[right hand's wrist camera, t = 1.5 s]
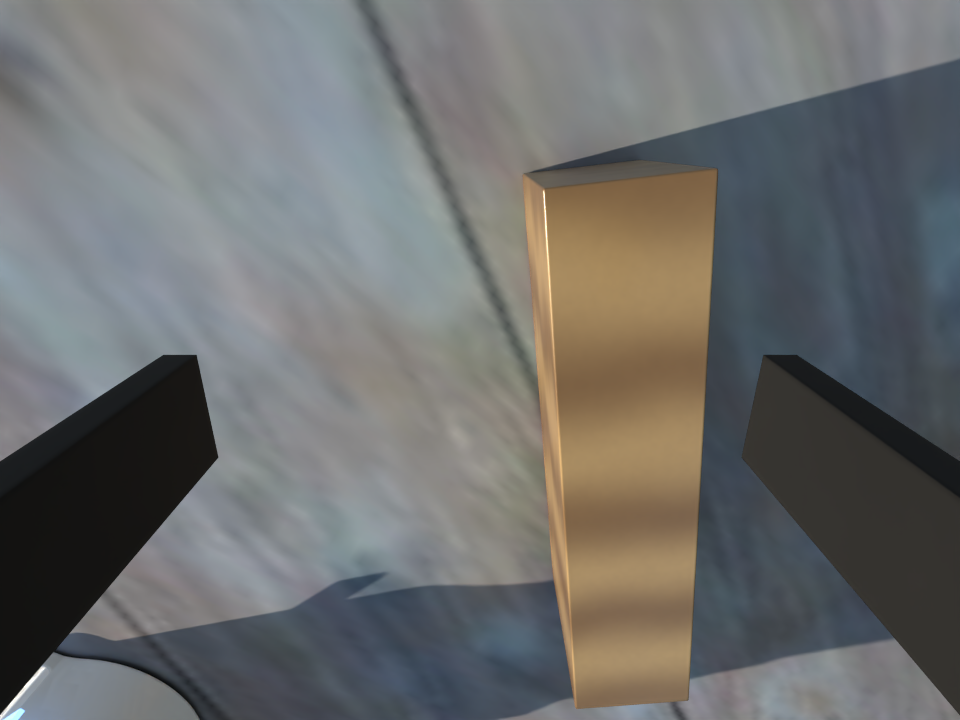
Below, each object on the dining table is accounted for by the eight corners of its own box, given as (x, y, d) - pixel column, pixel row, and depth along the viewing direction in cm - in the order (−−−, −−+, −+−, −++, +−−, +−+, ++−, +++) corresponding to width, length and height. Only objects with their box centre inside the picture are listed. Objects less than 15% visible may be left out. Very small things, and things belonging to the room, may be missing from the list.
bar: (522, 173, 26) (542, 188, 17) (641, 159, 25) (719, 167, 17) (553, 576, 35) (575, 709, 27) (639, 569, 35) (688, 701, 27)
